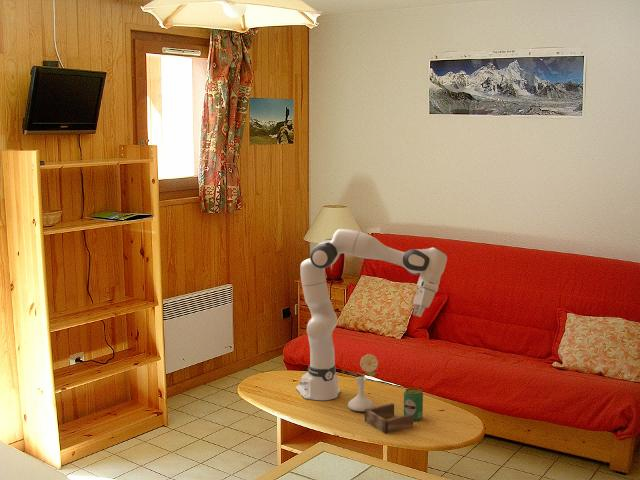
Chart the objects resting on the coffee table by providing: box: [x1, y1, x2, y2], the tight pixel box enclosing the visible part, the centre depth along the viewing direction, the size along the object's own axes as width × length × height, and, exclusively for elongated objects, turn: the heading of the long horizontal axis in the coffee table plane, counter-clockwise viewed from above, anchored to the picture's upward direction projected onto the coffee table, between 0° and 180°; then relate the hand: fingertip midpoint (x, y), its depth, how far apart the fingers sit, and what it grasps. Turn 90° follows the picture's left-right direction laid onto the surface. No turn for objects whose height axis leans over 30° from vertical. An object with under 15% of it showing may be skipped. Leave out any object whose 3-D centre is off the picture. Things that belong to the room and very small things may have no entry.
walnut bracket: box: [364, 402, 414, 434], centre depth 315 cm, size 15×14×5 cm
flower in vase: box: [347, 353, 379, 412], centre depth 329 cm, size 13×11×25 cm
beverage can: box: [403, 387, 424, 422], centre depth 321 cm, size 8×8×12 cm
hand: (416, 316), depth 322 cm, fingers open, 8 cm apart
